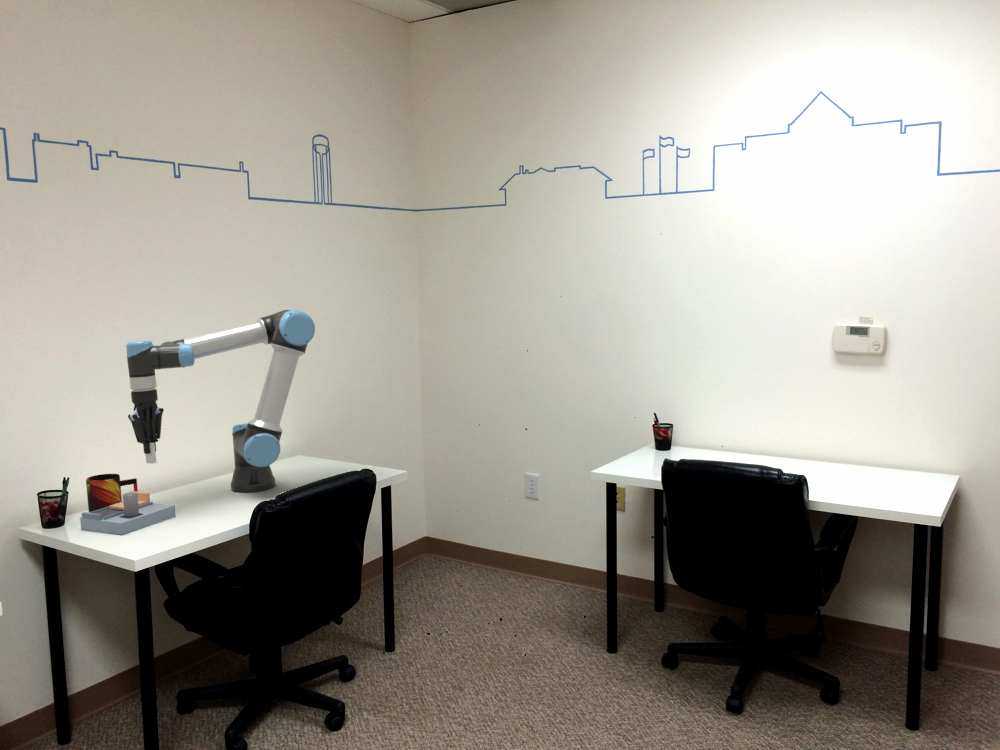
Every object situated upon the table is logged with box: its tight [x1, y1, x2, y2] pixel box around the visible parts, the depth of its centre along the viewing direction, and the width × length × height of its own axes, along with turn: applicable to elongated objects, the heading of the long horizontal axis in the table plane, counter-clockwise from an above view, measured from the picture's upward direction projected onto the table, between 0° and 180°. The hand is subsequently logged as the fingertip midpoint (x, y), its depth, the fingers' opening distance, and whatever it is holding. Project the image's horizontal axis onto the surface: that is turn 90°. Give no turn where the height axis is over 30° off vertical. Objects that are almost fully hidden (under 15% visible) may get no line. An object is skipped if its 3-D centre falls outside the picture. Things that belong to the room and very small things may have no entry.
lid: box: [109, 490, 151, 510], centre depth 247 cm, size 9×7×3 cm
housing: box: [79, 501, 177, 536], centre depth 242 cm, size 20×17×5 cm
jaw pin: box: [122, 492, 139, 519], centre depth 238 cm, size 4×4×10 cm
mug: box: [85, 473, 139, 513], centre depth 254 cm, size 10×14×12 cm
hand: (151, 462), depth 253 cm, fingers closed
